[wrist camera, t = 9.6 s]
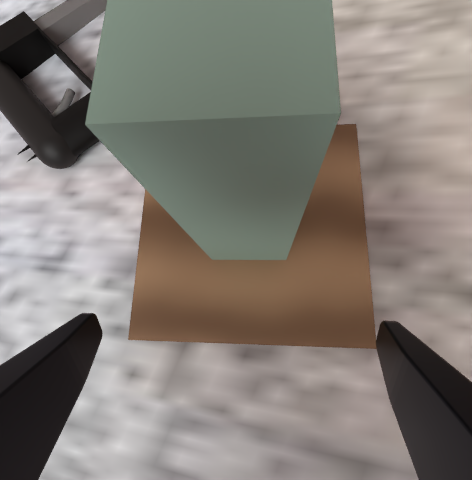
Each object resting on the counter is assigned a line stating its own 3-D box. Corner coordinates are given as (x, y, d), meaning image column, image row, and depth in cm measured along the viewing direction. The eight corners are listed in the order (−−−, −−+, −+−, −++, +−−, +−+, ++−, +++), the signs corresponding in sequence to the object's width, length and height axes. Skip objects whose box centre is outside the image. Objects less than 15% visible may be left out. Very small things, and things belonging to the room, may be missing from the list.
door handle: (65, -60, 28) (-86, 28, 26) (194, 49, 23) (24, 171, 21) (83, -21, 32) (-49, 61, 29) (201, 82, 27) (54, 192, 24)
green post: (286, 260, 17) (340, 113, 5) (212, 259, 18) (84, 124, 5) (284, 190, 18) (326, -75, 6) (215, 191, 19) (116, -52, 6)
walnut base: (359, 343, 18) (376, 348, 16) (148, 336, 20) (128, 339, 17) (344, 149, 22) (356, 124, 19) (165, 154, 23) (151, 132, 21)
